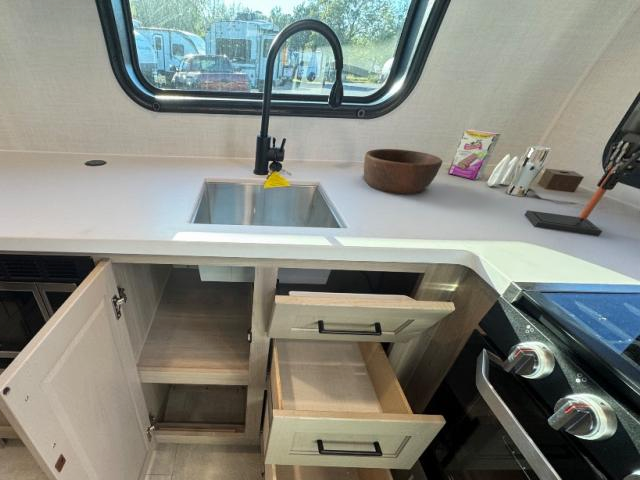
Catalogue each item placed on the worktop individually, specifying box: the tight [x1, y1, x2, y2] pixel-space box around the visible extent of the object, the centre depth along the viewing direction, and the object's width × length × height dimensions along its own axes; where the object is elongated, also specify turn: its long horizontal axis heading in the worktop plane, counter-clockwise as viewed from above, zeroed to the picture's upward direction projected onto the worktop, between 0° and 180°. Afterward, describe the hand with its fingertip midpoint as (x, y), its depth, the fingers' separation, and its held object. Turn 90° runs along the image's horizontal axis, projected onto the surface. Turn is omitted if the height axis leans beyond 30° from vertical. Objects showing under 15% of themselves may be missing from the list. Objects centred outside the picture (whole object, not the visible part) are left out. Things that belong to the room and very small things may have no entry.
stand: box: [537, 168, 585, 193], centre depth 111 cm, size 8×8×7 cm
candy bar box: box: [447, 129, 502, 181], centre depth 124 cm, size 11×5×16 cm, turn 34°
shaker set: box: [487, 153, 519, 187], centre depth 116 cm, size 12×4×11 cm, turn 119°
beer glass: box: [505, 145, 554, 197], centre depth 107 cm, size 7×7×15 cm
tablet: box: [524, 209, 603, 237], centre depth 88 cm, size 14×10×2 cm
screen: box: [534, 211, 594, 229], centre depth 88 cm, size 11×8×1 cm
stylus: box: [578, 167, 614, 222], centre depth 82 cm, size 2×2×14 cm
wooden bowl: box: [363, 148, 443, 194], centre depth 113 cm, size 25×25×10 cm
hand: (604, 187), depth 81 cm, fingers closed on stylus, 1 cm apart
